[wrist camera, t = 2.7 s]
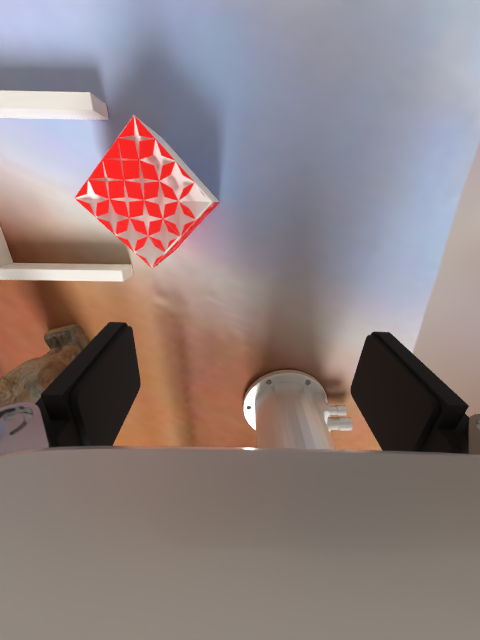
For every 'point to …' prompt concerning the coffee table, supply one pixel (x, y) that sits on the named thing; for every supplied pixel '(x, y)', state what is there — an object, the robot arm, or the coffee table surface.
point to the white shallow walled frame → (55, 108)
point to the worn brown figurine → (43, 366)
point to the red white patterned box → (146, 194)
